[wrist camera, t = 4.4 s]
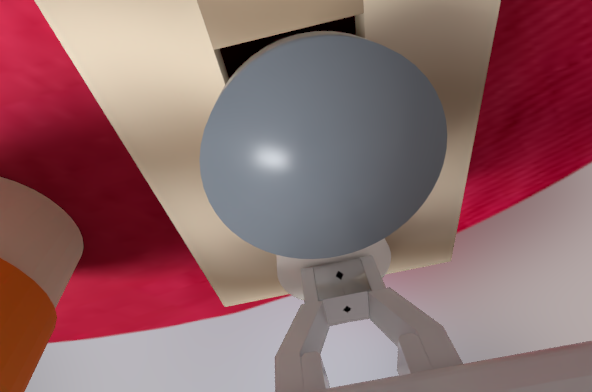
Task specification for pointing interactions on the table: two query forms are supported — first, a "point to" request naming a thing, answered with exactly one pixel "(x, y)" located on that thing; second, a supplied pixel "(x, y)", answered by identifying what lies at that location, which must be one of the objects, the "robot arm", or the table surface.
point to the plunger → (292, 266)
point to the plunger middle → (322, 145)
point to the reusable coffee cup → (31, 277)
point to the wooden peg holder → (213, 77)
